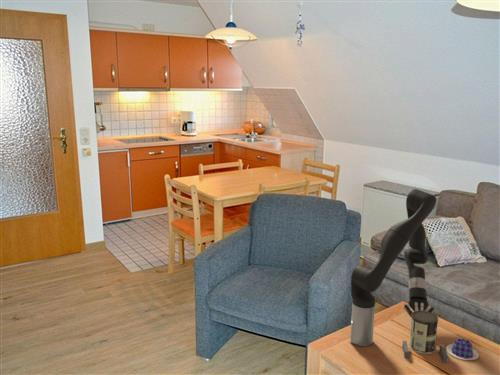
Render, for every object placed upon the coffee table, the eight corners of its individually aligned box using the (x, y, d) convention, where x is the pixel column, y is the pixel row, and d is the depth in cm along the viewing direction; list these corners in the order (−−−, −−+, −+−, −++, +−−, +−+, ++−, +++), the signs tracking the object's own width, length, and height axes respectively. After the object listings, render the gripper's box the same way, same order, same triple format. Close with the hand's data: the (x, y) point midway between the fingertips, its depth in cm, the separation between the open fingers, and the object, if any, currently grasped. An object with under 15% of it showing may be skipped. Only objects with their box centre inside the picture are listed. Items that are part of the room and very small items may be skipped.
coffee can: (432, 342, 188) (435, 311, 186) (437, 355, 179) (440, 323, 176) (407, 339, 190) (409, 309, 188) (410, 352, 181) (413, 321, 178)
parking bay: (404, 358, 177) (405, 351, 176) (402, 347, 184) (402, 340, 184) (447, 363, 173) (448, 356, 173) (443, 351, 181) (443, 345, 181)
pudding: (478, 349, 184) (479, 337, 183) (478, 364, 173) (480, 352, 172) (446, 342, 189) (447, 331, 188) (445, 357, 178) (446, 345, 177)
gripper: (403, 285, 199) (404, 323, 190) (434, 288, 196) (437, 327, 187) (401, 291, 205) (402, 328, 196) (431, 294, 202) (434, 332, 193)
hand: (419, 327), depth 191 cm, fingers closed
